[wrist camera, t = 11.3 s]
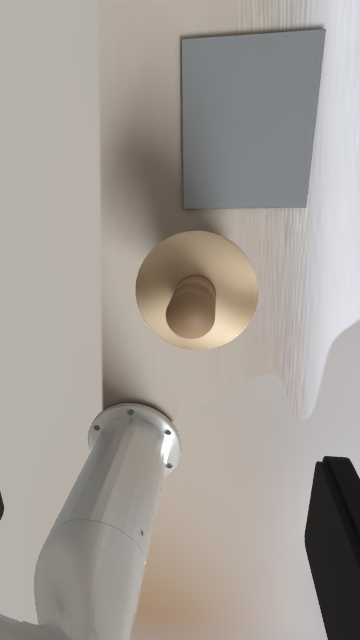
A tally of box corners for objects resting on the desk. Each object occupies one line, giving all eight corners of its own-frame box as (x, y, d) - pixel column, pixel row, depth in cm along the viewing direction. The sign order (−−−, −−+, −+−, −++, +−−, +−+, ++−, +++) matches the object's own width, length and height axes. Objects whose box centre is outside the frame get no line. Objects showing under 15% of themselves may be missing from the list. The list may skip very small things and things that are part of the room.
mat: (305, 207, 33) (306, 207, 32) (184, 208, 34) (183, 209, 34) (324, 31, 28) (325, 29, 28) (182, 41, 29) (181, 39, 29)
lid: (253, 347, 28) (261, 383, 23) (141, 344, 29) (123, 378, 24) (260, 229, 25) (271, 239, 19) (133, 231, 26) (110, 241, 20)
